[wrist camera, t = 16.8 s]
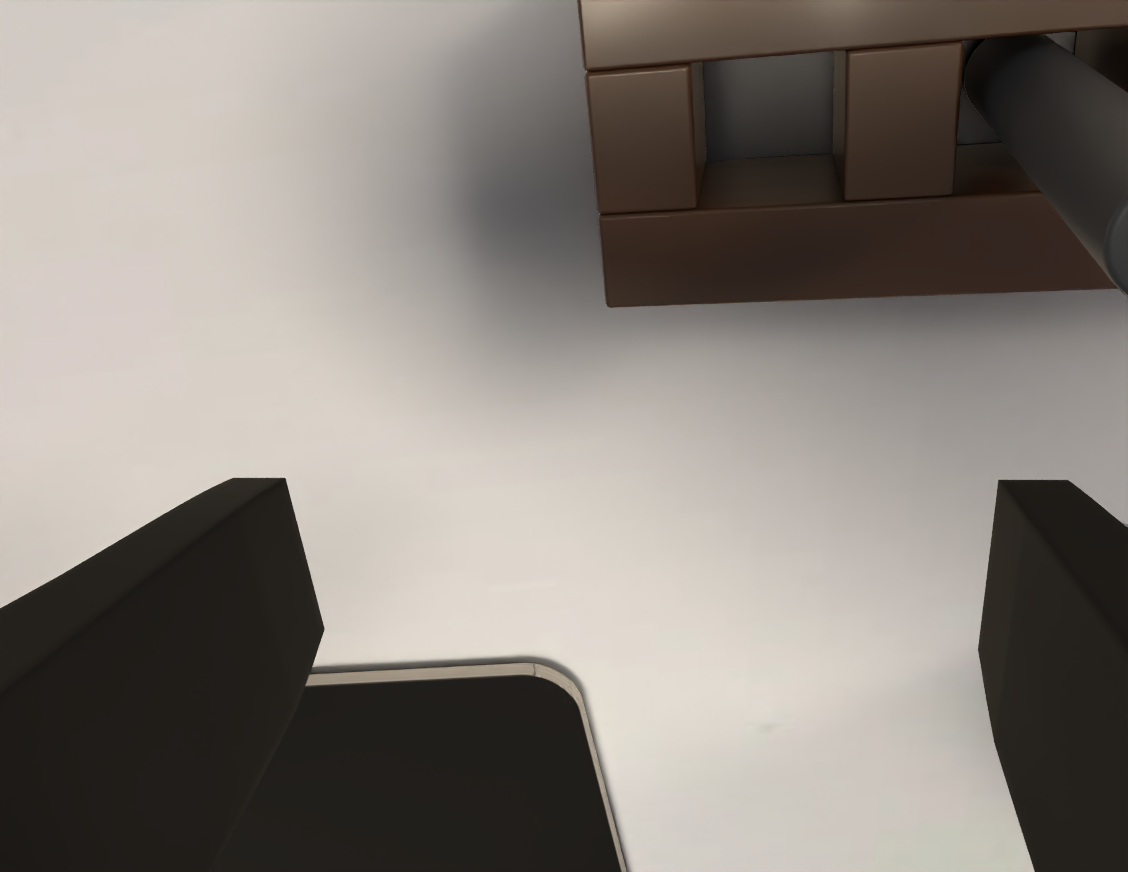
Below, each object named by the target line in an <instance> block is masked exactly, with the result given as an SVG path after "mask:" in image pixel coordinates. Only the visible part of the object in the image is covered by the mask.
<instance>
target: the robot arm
mask: <svg viewBox="0 0 1128 872" xmlns="http://www.w3.org/2000/svg"><path fill="white" fill-rule="evenodd" d="M323 632H324V625H323V621H322V617H321V614H320V610H319V606H318V602H317V598H316V594H315V590H314V587H313V583H312V579H311V575H310V571H309V567H308V563H307V560H306V556H305V552H304V548H303V544H302V540H301V537H300V533H299V529H298V525H297V521H296V517H295V513H294V510H293V506H292V502H291V498H290V494H289V490H288V486H287V483H286V479H285V478H232V479H230V480H227V481H225V482H223V483H221V484H219V485H216V486H214V487H212V488H210V489H208V490H206V491H204V492H203V493H201V494H199V495H197V496H195V497H193V498H191V499H190V500H188V501H186V502H184V503H183V504H181V505H179V506H177V507H175V508H174V509H172V510H170V511H169V512H167V513H165V514H163V515H162V516H160V517H158V518H157V519H155V520H153V521H151V522H150V523H148V524H146V525H145V526H143V527H141V528H140V529H138V530H136V531H135V532H133V533H131V534H130V535H128V536H126V537H124V538H123V539H121V540H119V541H118V542H116V543H114V544H113V545H111V546H109V547H108V548H106V549H104V550H103V551H101V552H99V553H97V554H96V555H94V556H92V557H91V558H89V559H87V560H86V561H84V562H82V563H81V564H79V565H77V566H75V567H74V568H72V569H70V570H69V571H67V572H65V573H64V574H62V575H60V576H58V577H57V578H55V579H53V580H51V581H49V582H47V583H46V584H44V585H42V586H40V587H38V588H37V589H35V590H33V591H31V592H29V593H28V594H26V595H24V596H22V597H20V598H18V599H17V600H15V601H13V602H11V603H9V604H8V605H6V606H4V607H2V608H0V872H213V870H214V868H215V866H216V864H217V862H218V860H219V858H220V856H221V854H222V853H223V851H224V849H225V847H226V845H227V843H228V841H229V839H230V837H231V835H232V834H233V832H234V830H235V828H236V826H237V824H238V822H239V820H240V818H241V816H242V815H243V813H244V811H245V809H246V807H247V805H248V803H249V801H250V799H251V797H252V796H253V794H254V792H255V790H256V788H257V786H258V784H259V782H260V780H261V779H262V777H263V775H264V773H265V771H266V769H267V767H268V765H269V763H270V761H271V759H272V757H273V755H274V753H275V751H276V749H277V747H278V746H279V744H280V742H281V740H282V738H283V736H284V734H285V732H286V730H287V728H288V726H289V724H290V722H291V720H292V718H293V716H294V714H295V712H296V710H297V707H298V704H299V701H300V699H301V696H302V693H303V691H304V688H305V685H306V683H307V680H308V677H309V675H310V672H311V669H312V666H313V663H314V660H315V657H316V654H317V650H318V647H319V644H320V641H321V638H322V635H323ZM978 652H979V658H980V664H981V670H982V676H983V682H984V688H985V694H986V700H987V705H988V711H989V716H990V721H991V727H992V732H993V737H994V743H995V746H996V749H997V753H998V756H999V759H1000V763H1001V766H1002V769H1003V772H1004V776H1005V779H1006V782H1007V785H1008V788H1009V792H1010V795H1011V798H1012V801H1013V804H1014V808H1015V811H1016V814H1017V817H1018V820H1019V823H1020V827H1021V830H1022V833H1023V836H1024V839H1025V842H1026V845H1027V849H1028V852H1029V855H1030V858H1031V861H1032V864H1033V867H1034V870H1035V872H1128V528H1127V527H1126V526H1124V525H1123V524H1122V523H1121V522H1120V521H1118V520H1117V519H1116V518H1115V517H1114V516H1112V515H1111V514H1110V513H1109V512H1108V511H1106V510H1105V509H1104V508H1103V507H1102V506H1100V505H1099V504H1098V503H1097V502H1096V501H1094V500H1093V499H1092V498H1091V497H1089V496H1088V495H1087V494H1086V493H1084V492H1083V491H1082V490H1081V489H1079V488H1078V487H1077V486H1075V485H1074V484H1073V483H1071V482H1070V481H1069V480H998V488H997V497H996V505H995V513H994V522H993V530H992V538H991V547H990V555H989V563H988V572H987V580H986V588H985V596H984V605H983V613H982V621H981V630H980V638H979V646H978Z"/></svg>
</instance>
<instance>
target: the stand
mask: <svg viewBox="0 0 1128 872" xmlns="http://www.w3.org/2000/svg"><path fill="white" fill-rule="evenodd" d="M577 2H578V13H579V24H580V35H581V45H582V56H583V67H584V69H585V70H586V71H587V72H586V75H585V86H586V97H587V107H588V118H589V129H590V139H591V150H592V161H593V171H594V182H595V193H596V204H597V210H598V212H599V213H600V215H599V217H598V226H599V236H600V247H601V258H602V268H603V279H604V290H605V301H606V305H607V307H610V308H613V307H639V306H666V305H693V304H719V303H746V302H773V301H799V300H826V299H853V298H879V297H906V296H933V295H959V294H986V293H1013V292H1039V291H1066V290H1092V289H1118V288H1117V287H1116V286H1115V285H1114V283H1113V282H1112V281H1111V280H1110V278H1109V277H1108V276H1107V275H1106V273H1105V272H1104V271H1103V270H1102V268H1101V267H1100V266H1099V264H1098V263H1097V262H1096V261H1095V259H1094V258H1093V257H1092V256H1091V254H1090V253H1089V252H1088V251H1087V249H1086V248H1085V247H1084V245H1083V244H1082V243H1081V242H1080V240H1079V239H1078V238H1077V237H1076V235H1075V234H1074V233H1073V231H1072V230H1071V229H1070V228H1069V226H1068V225H1067V224H1066V223H1065V221H1064V220H1063V219H1062V218H1061V216H1060V215H1059V214H1058V212H1057V211H1056V210H1055V209H1054V207H1053V206H1052V205H1051V204H1050V202H1049V201H1048V200H1047V199H1046V197H1045V196H1044V195H1043V193H1042V192H1041V191H1040V190H1039V188H1038V187H1037V186H1036V185H1035V183H1034V182H1033V181H1032V179H1031V178H1030V177H1029V176H1028V174H1027V173H1026V172H1025V171H1024V169H1023V168H1022V167H1021V166H1020V164H1019V163H1018V162H1017V160H1016V159H1015V158H1014V157H1013V155H1012V154H1011V153H1010V152H1009V150H1008V149H1007V148H1006V146H1005V145H1004V144H1003V143H992V144H976V145H960V146H957V134H958V120H959V106H960V91H961V77H962V63H963V49H964V45H963V42H962V41H963V40H975V39H987V38H1000V37H1012V36H1024V35H1036V34H1048V33H1060V32H1073V31H1077V38H1076V47H1075V55H1074V56H1075V57H1077V58H1078V59H1080V60H1081V61H1083V62H1084V63H1085V64H1087V65H1088V66H1090V67H1091V68H1093V69H1094V70H1096V71H1097V72H1098V73H1100V74H1101V75H1103V76H1104V77H1106V78H1107V79H1109V80H1110V81H1111V82H1113V83H1114V84H1116V85H1117V86H1119V87H1120V88H1122V89H1123V90H1124V91H1126V92H1127V93H1128V0H577ZM829 51H834V98H833V153H834V154H819V155H804V156H788V157H772V158H756V159H741V160H725V161H709V162H706V158H707V155H706V131H705V107H704V83H703V62H707V61H720V60H732V59H744V58H756V57H768V56H781V55H793V54H805V53H817V52H829Z"/></svg>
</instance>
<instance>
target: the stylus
mask: <svg viewBox="0 0 1128 872" xmlns="http://www.w3.org/2000/svg"><path fill="white" fill-rule="evenodd" d="M964 84H965V90H966V94H967V96H968V98H969V100H970V102H971V103H972V105H973V106H974V107H975V108H976V110H977V111H978V112H979V113H980V115H981V116H982V117H983V119H984V120H985V121H986V122H987V124H988V125H989V126H990V127H991V129H992V130H993V131H994V133H995V134H996V135H997V136H998V138H999V139H1000V140H1001V141H1002V143H1003V144H1004V145H1005V146H1006V148H1007V149H1008V150H1009V152H1010V153H1011V154H1012V155H1013V157H1014V158H1015V159H1016V160H1017V162H1018V163H1019V164H1020V166H1021V167H1022V168H1023V169H1024V171H1025V172H1026V173H1027V174H1028V176H1029V177H1030V178H1031V179H1032V181H1033V182H1034V183H1035V185H1036V186H1037V187H1038V188H1039V190H1040V191H1041V192H1042V193H1043V195H1044V196H1045V197H1046V199H1047V200H1048V201H1049V202H1050V204H1051V205H1052V206H1053V207H1054V209H1055V210H1056V211H1057V212H1058V214H1059V215H1060V216H1061V218H1062V219H1063V220H1064V221H1065V223H1066V224H1067V225H1068V226H1069V228H1070V229H1071V230H1072V231H1073V233H1074V234H1075V235H1076V237H1077V238H1078V239H1079V240H1080V242H1081V243H1082V244H1083V245H1084V247H1085V248H1086V249H1087V251H1088V252H1089V253H1090V254H1091V256H1092V257H1093V258H1094V259H1095V261H1096V262H1097V263H1098V264H1099V266H1100V267H1101V268H1102V270H1103V271H1104V272H1105V273H1106V275H1107V276H1108V277H1109V278H1110V280H1111V281H1112V282H1113V283H1114V285H1115V286H1116V287H1117V288H1118V289H1119V290H1120V291H1121V292H1123V293H1124V294H1125V295H1127V296H1128V93H1127V92H1126V91H1124V90H1123V89H1122V88H1120V87H1119V86H1117V85H1116V84H1114V83H1113V82H1111V81H1110V80H1109V79H1107V78H1106V77H1104V76H1103V75H1101V74H1100V73H1098V72H1097V71H1096V70H1094V69H1093V68H1091V67H1090V66H1088V65H1087V64H1085V63H1084V62H1083V61H1081V60H1080V59H1078V58H1077V57H1075V56H1074V55H1072V54H1071V53H1070V52H1068V51H1067V50H1065V49H1064V48H1062V47H1061V46H1059V45H1058V44H1056V43H1055V42H1054V41H1052V40H1051V39H1049V38H1048V37H1046V36H1045V35H1043V34H1036V35H1024V36H1012V37H1000V38H987V39H985V40H984V41H983V42H982V43H981V44H980V45H979V46H978V47H977V48H976V49H975V51H974V52H973V54H972V55H971V57H970V59H969V61H968V64H967V67H966V70H965V77H964Z"/></svg>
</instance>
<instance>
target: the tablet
mask: <svg viewBox="0 0 1128 872" xmlns="http://www.w3.org/2000/svg"><path fill="white" fill-rule="evenodd" d="M213 872H626V868H625V864H624V860H623V856H622V852H621V848H620V844H619V841H618V837H617V833H616V829H615V825H614V821H613V817H612V813H611V809H610V805H609V801H608V797H607V794H606V790H605V786H604V782H603V778H602V774H601V770H600V766H599V762H598V758H597V754H596V751H595V747H594V743H593V739H592V735H591V731H590V727H589V723H588V719H587V715H586V711H585V707H584V704H583V700H582V696H581V694H580V692H579V690H578V689H577V687H576V686H575V685H574V683H573V682H572V681H571V680H570V679H569V678H567V677H566V676H565V675H563V674H562V673H560V672H559V671H557V670H555V669H553V668H550V667H547V666H544V665H540V664H535V663H513V664H495V665H476V666H458V667H440V668H422V669H403V670H385V671H367V672H348V673H330V674H312V675H309V677H308V680H307V683H306V685H305V688H304V691H303V693H302V696H301V699H300V701H299V704H298V707H297V710H296V712H295V714H294V716H293V718H292V720H291V722H290V724H289V726H288V728H287V730H286V732H285V734H284V736H283V738H282V740H281V742H280V744H279V746H278V747H277V749H276V751H275V753H274V755H273V757H272V759H271V761H270V763H269V765H268V767H267V769H266V771H265V773H264V775H263V777H262V779H261V780H260V782H259V784H258V786H257V788H256V790H255V792H254V794H253V796H252V797H251V799H250V801H249V803H248V805H247V807H246V809H245V811H244V813H243V815H242V816H241V818H240V820H239V822H238V824H237V826H236V828H235V830H234V832H233V834H232V835H231V837H230V839H229V841H228V843H227V845H226V847H225V849H224V851H223V853H222V854H221V856H220V858H219V860H218V862H217V864H216V866H215V868H214V870H213Z"/></svg>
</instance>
